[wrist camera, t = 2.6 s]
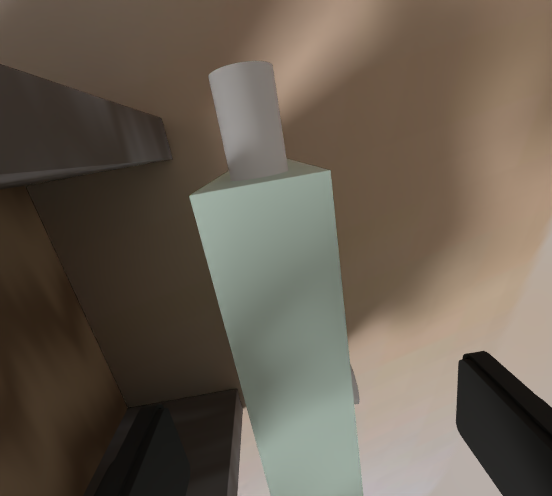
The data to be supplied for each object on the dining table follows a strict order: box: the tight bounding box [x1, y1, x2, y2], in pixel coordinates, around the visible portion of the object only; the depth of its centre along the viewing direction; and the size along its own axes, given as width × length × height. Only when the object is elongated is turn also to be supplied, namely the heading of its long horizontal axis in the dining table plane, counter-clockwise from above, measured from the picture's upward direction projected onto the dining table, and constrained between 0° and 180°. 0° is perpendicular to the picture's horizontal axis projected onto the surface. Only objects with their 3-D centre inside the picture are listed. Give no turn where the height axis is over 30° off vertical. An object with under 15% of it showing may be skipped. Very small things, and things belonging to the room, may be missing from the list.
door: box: [189, 61, 363, 496], centre depth 13 cm, size 19×4×10 cm, turn 10°
